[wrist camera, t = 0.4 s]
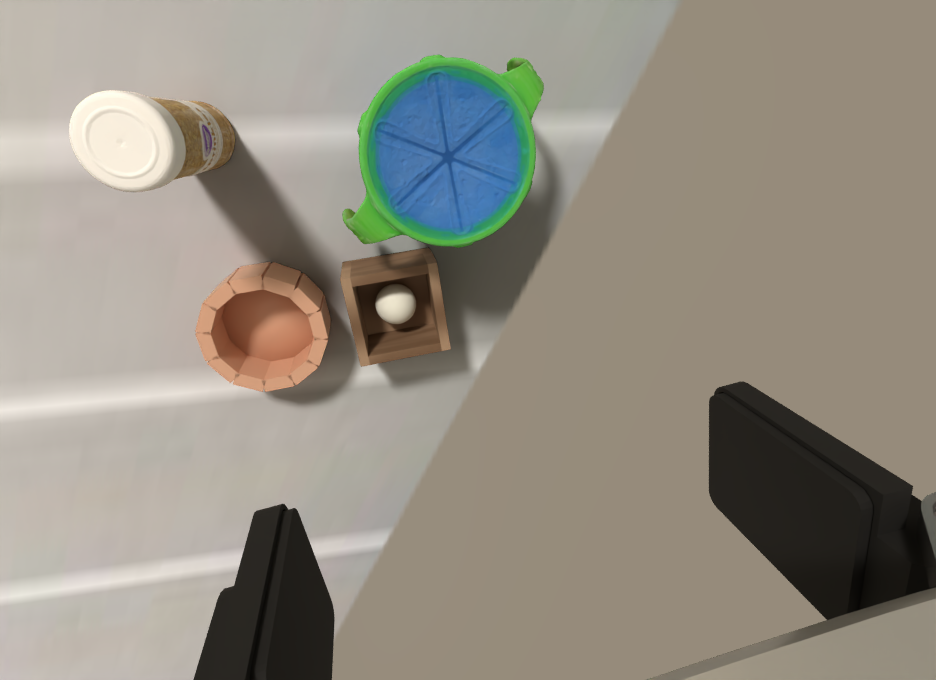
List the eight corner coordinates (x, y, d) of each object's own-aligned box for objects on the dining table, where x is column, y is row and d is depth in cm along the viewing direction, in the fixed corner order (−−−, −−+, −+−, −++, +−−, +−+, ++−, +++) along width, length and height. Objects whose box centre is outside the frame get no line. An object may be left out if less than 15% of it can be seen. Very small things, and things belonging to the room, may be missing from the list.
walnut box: (342, 262, 42) (340, 279, 37) (429, 247, 43) (437, 262, 38) (361, 341, 45) (361, 366, 40) (441, 326, 46) (450, 349, 41)
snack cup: (479, 18, 37) (517, -15, 28) (549, 150, 42) (602, 159, 32) (301, 148, 38) (281, 157, 29) (388, 263, 43) (394, 303, 33)
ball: (371, 282, 42) (371, 294, 39) (410, 275, 43) (414, 287, 40) (379, 319, 44) (380, 333, 41) (417, 312, 44) (421, 325, 41)
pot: (195, 274, 40) (178, 289, 37) (314, 254, 41) (309, 267, 38) (231, 377, 44) (220, 400, 40) (340, 356, 45) (338, 377, 41)
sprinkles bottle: (246, 161, 38) (190, 181, 26) (182, 176, 38) (95, 204, 25) (220, 92, 36) (146, 79, 24) (153, 108, 36) (44, 102, 23)
